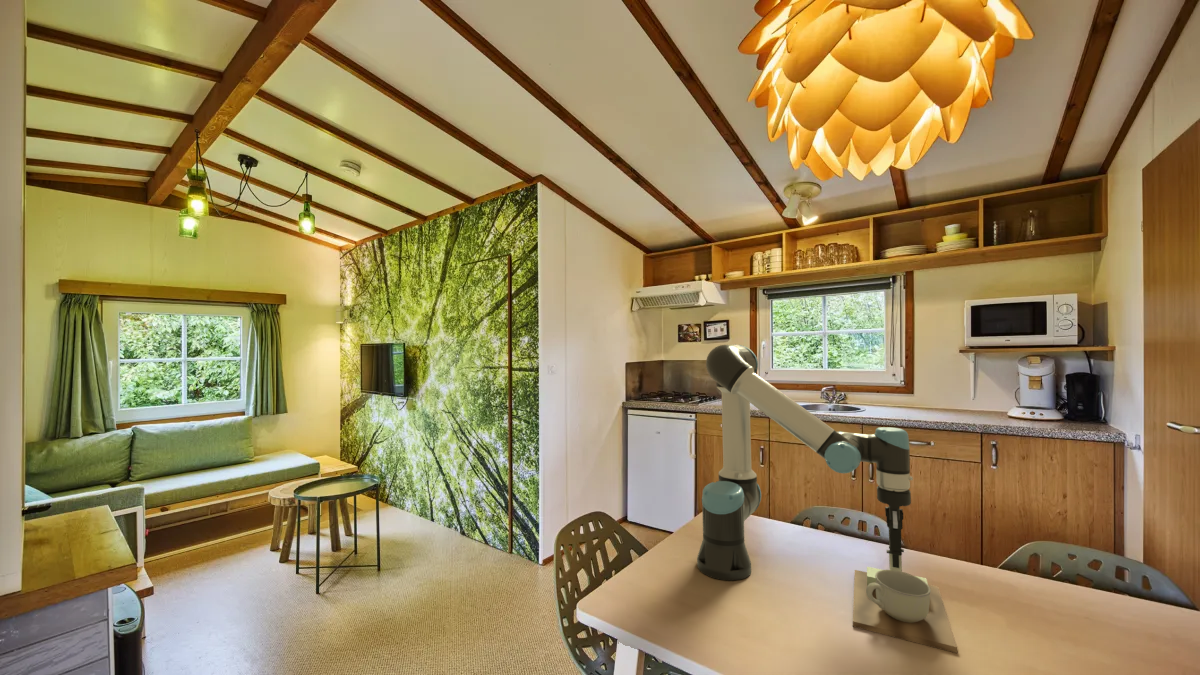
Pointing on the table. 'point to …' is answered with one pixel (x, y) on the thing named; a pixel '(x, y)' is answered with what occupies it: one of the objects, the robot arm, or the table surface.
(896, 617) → the teacup
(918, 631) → the board
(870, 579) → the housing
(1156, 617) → the table surface
